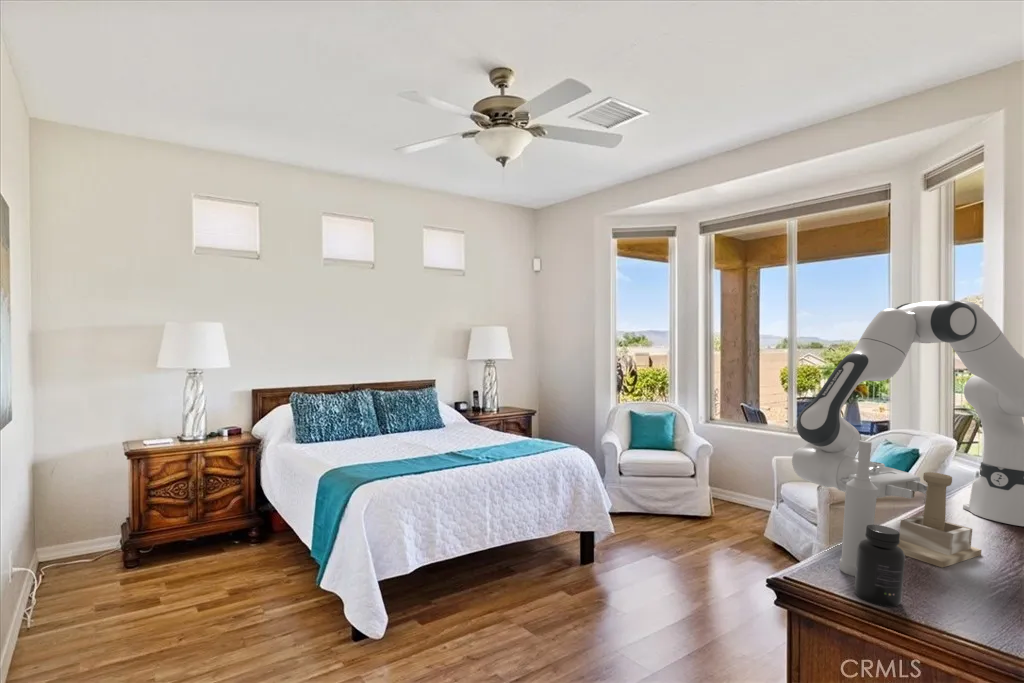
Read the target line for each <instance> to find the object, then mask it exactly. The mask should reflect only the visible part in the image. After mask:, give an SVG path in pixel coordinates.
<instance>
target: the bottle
mask: <svg viewBox="0 0 1024 683" xmlns="http://www.w3.org/2000/svg"><path fill="white" fill-rule="evenodd" d="M872 445H873V444H872V441H869V440H862V439H861V440H860V441H859V448H858V452H857V454H858V455H857V458H858V464H857V475H855V476H854V479H852V480H850V481H849V482H847V483H846V491H845V492H844V493H845V496H844V509H843V511H844V512H843V513H844V514H843V528H842V530H843V531H842V542H841V543H842V544H841V545H842V546H841V557H840V559H839V562H838V563H839V570H840V571H841V572H842V573H844V574H846V575H849V576H851V577H855V575H856V563H857V551H858V544H859V543H860V542H861V541H862V540H865V539H867V538H866V537H865V533H866V527H867V525H875V518H876V516H875V515H876V508H877V499H878V498H877V491H878V488H877V487H876V486H875V485H874V484H873V483H872V482H871V479H870V478H869V465H870V461H871V452H872Z"/></svg>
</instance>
